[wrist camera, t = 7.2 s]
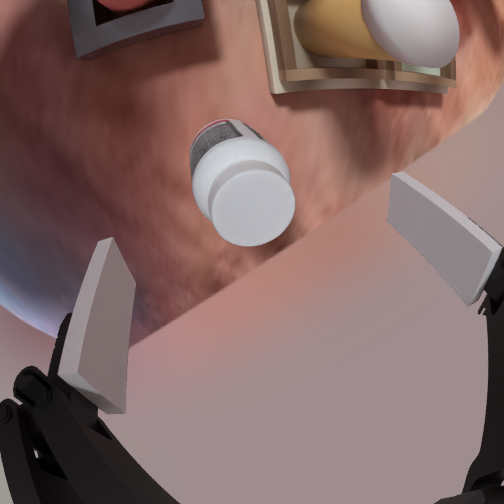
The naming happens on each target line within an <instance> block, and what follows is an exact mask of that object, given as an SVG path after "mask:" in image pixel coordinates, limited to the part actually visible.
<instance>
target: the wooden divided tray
mask: <svg viewBox="0 0 504 504" xmlns="http://www.w3.org/2000/svg"><path fill="white" fill-rule="evenodd" d="M307 1H309V0H256V6H257V12H258V17H259V23H260V29H261V35H262V41H263V48H264V54H265V61H266V67H267V74H268V81H269V88H270V93H273V94H278V93H287V92H297V91H309V90H324V89H357V88H367V89H398V90H413V91H424V92H433V93H442V94H448V87H453V88H456V61H455V56H454V58H453V59H452V61H451V62H450V63H449V64H447V65H446V66H444V67H441V68H427V67H421V66H415V65H409V64H405V63H402V62H399V61H389V60H376V59H358V58H324V57H320V56H317V55H315V54H313V53H311V52H309V51H308V50H307V49H306V48H304V47H303V46H302V44H301V43H300V42H299V40H298V39H297V37H296V35H295V32H294V28H293V18H294V15H295V12H296V10H297V9H298V8H299V7H300V6H301V5H302V4H303V3H305V2H307Z"/></svg>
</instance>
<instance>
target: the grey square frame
mask: <svg viewBox="0 0 504 504" xmlns="http://www.w3.org/2000/svg"><path fill="white" fill-rule="evenodd" d="M68 8H69V16H70V23H71V29H72V36H73V41H74V47H75V52H76V57H77V58H80V59H94V58H96V57H98V56H101V55H103V54H106V53H108V52H111V51H114V50H116V49H119V48H122V47H125V46H128V45H131V44H134V43H137V42H140V41H143V40H146V39H150V38H153V37H157V36H161V35H164V34H168V33H172V32H177V31H181V30H185V29H190V28H195V27H200V26H202V24H203V22H204V19H205V17H204V11H203V6H202V0H173V2H172V3H168V4H164V5H160V6H156V7H152V8H149V9H145V10H142V11H139V12H135V13H132V14H129V15H126V16H123V17H120V18H118V19H115V20H112V21H109V22H107V23H106V17H105V11H104V5H103V4H101V3H100V2H99V1H97V0H68Z"/></svg>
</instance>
